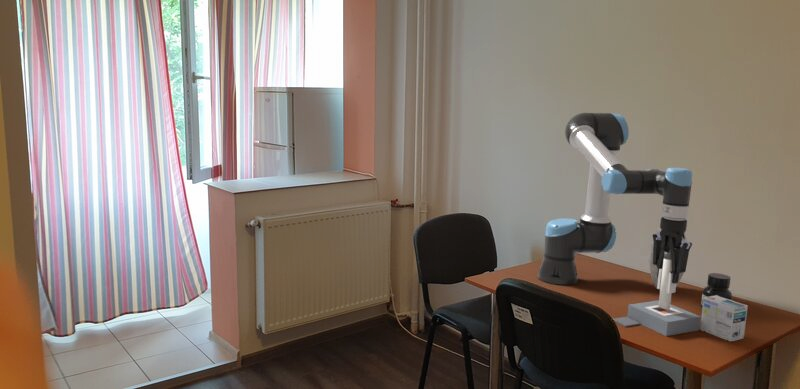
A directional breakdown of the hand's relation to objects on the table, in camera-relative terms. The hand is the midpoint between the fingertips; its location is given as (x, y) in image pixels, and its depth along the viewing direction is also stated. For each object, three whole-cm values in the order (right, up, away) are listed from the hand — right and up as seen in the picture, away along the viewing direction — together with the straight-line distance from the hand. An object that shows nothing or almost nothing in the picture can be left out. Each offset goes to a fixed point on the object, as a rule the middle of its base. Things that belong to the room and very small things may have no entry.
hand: (666, 290), depth 196 cm
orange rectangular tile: (0, -9, +2) cm, 9 cm away
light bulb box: (+15, -13, -5) cm, 20 cm away
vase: (+16, -6, +38) cm, 42 cm away
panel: (0, -11, +2) cm, 11 cm away
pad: (-12, -11, +2) cm, 16 cm away
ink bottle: (+24, -9, +17) cm, 31 cm away
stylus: (0, -5, +1) cm, 6 cm away
